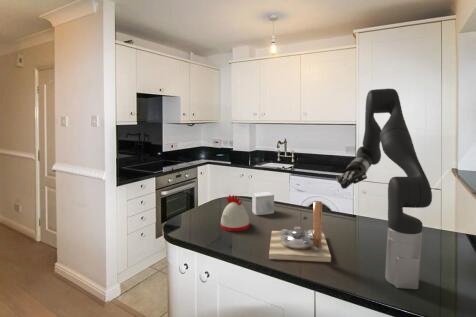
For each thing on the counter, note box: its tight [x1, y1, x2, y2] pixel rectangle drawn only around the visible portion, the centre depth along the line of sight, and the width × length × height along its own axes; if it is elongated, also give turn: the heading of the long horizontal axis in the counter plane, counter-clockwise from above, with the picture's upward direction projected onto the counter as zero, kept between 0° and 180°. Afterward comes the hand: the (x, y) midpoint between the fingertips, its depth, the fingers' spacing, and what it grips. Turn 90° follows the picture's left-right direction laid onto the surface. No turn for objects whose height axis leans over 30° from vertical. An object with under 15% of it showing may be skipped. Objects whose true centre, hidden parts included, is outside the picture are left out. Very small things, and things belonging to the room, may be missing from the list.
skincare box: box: [251, 191, 275, 216], centre depth 162 cm, size 10×6×10 cm, turn 106°
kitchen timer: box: [220, 194, 251, 232], centre depth 144 cm, size 14×14×15 cm
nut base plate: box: [268, 230, 332, 263], centre depth 120 cm, size 22×22×2 cm
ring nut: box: [280, 200, 323, 251], centre depth 116 cm, size 20×14×20 cm
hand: (343, 186), depth 116 cm, fingers closed
